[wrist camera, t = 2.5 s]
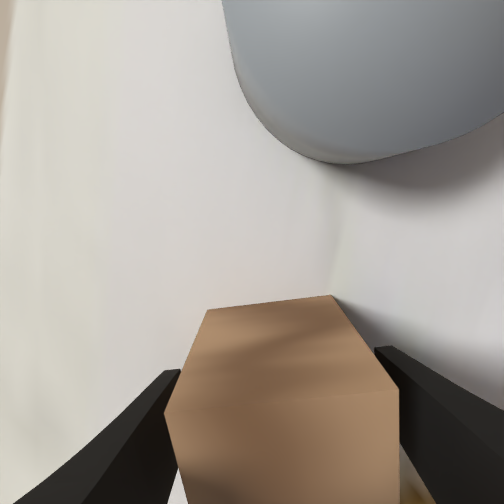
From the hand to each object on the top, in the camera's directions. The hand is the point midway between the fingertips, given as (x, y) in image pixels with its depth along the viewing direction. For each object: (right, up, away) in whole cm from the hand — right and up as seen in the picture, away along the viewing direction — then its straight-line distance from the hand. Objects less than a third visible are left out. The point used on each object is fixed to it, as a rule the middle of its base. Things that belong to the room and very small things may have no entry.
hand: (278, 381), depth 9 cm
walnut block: (0, 0, +1) cm, 2 cm away
